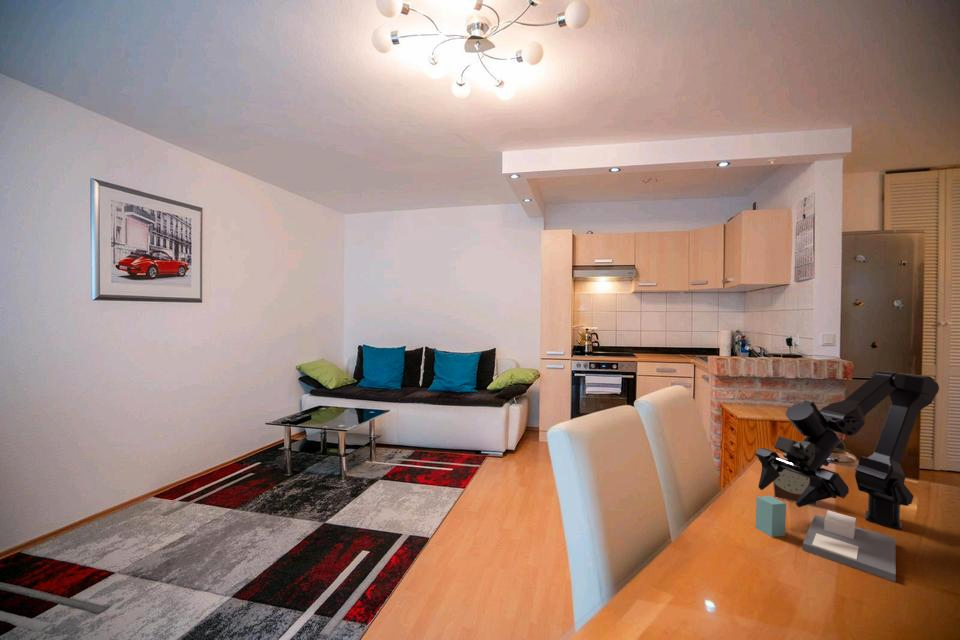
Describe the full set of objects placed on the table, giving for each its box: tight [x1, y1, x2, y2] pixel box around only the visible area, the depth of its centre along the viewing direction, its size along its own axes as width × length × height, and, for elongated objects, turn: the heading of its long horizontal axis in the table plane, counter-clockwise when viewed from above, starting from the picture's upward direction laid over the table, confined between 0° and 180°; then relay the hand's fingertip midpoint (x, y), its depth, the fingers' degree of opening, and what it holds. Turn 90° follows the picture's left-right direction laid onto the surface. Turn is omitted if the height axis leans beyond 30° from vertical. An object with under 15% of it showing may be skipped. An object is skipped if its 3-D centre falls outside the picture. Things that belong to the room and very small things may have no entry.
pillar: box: [755, 495, 787, 538], centre depth 94 cm, size 4×4×8 cm
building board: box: [802, 509, 897, 583], centre depth 88 cm, size 20×14×4 cm
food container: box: [772, 459, 819, 508], centre depth 114 cm, size 12×6×10 cm, turn 58°
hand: (777, 496), depth 94 cm, fingers open, 9 cm apart
